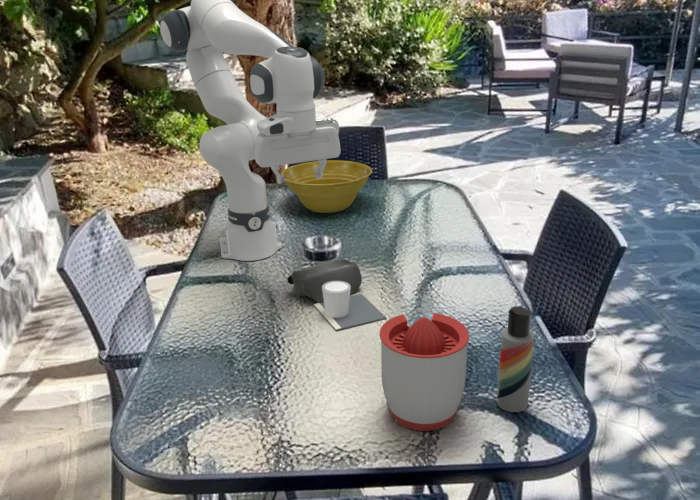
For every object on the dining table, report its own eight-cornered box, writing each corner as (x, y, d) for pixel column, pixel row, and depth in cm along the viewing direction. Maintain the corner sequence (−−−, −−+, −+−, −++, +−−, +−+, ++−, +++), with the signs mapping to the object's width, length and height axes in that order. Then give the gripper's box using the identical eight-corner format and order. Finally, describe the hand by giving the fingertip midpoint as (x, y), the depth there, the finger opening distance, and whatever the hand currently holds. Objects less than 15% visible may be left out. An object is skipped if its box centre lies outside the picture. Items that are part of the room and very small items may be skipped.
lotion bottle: (492, 396, 122) (499, 303, 114) (521, 394, 122) (530, 301, 115) (501, 414, 117) (509, 318, 109) (532, 412, 117) (541, 316, 109)
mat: (314, 305, 158) (313, 304, 158) (361, 295, 163) (361, 293, 163) (335, 331, 146) (335, 329, 146) (386, 318, 151) (386, 317, 151)
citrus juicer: (454, 381, 127) (458, 291, 119) (473, 438, 111) (479, 338, 103) (376, 384, 127) (375, 294, 119) (383, 442, 110) (383, 342, 103)
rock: (345, 274, 175) (344, 248, 172) (369, 289, 166) (368, 261, 163) (286, 293, 166) (284, 265, 163) (308, 309, 157) (306, 280, 154)
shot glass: (348, 320, 150) (347, 293, 147) (319, 318, 151) (319, 291, 149) (353, 307, 156) (353, 281, 154) (325, 304, 157) (325, 279, 155)
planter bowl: (271, 202, 236) (268, 166, 231) (349, 189, 248) (348, 155, 243) (302, 228, 209) (299, 189, 204) (388, 213, 221) (388, 175, 216)
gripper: (333, 114, 152) (335, 171, 157) (250, 124, 144) (255, 182, 149) (343, 119, 146) (345, 177, 152) (257, 129, 139) (263, 189, 144)
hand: (300, 180), depth 150 cm, fingers open, 8 cm apart
